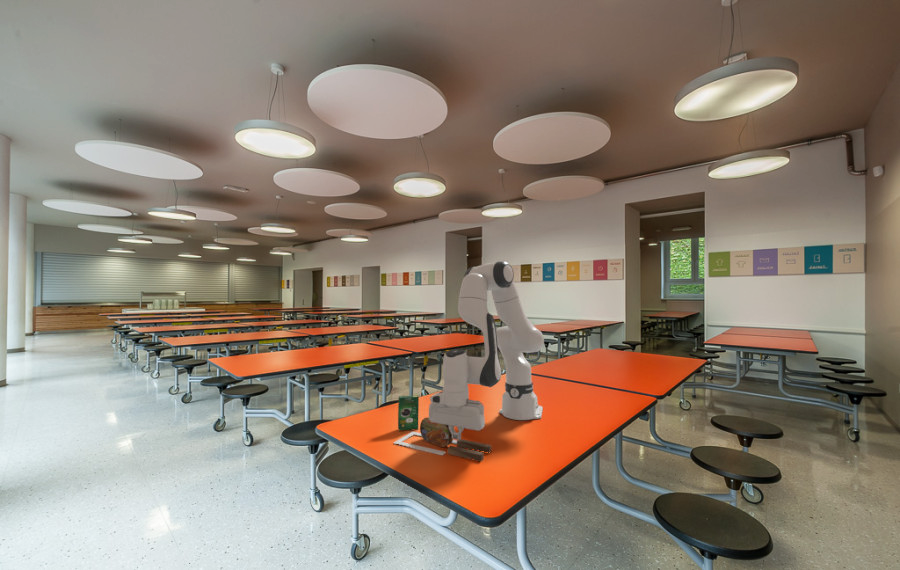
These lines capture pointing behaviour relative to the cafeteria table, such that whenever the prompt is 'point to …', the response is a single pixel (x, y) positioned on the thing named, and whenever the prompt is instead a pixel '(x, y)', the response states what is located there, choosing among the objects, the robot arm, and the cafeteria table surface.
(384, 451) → the cafeteria table surface
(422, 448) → the frame
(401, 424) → the coffee box
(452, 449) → the dark brown parallel bars
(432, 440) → the tin
